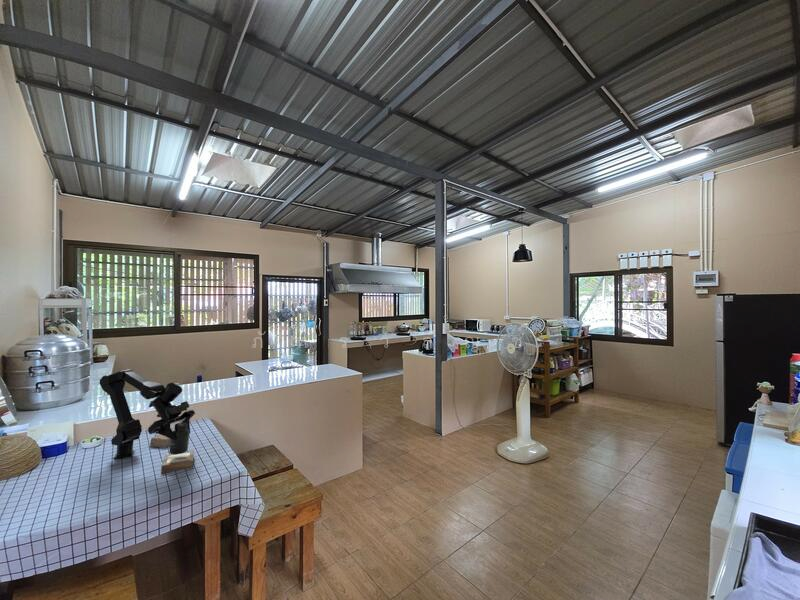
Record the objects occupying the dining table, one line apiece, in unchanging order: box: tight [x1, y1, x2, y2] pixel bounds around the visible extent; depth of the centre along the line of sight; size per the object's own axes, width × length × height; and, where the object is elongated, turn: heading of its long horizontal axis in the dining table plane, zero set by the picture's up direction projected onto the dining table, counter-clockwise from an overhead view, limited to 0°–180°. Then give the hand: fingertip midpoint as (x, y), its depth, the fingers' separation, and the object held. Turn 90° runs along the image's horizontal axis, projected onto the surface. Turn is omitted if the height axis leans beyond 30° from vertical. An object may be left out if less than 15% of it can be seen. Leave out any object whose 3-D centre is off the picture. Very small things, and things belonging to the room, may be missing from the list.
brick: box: [149, 426, 175, 448], centre depth 164 cm, size 17×8×5 cm, turn 179°
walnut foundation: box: [160, 450, 195, 474], centre depth 139 cm, size 11×11×3 cm
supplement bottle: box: [168, 422, 191, 455], centre depth 139 cm, size 7×7×12 cm
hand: (182, 436), depth 139 cm, fingers closed on supplement bottle, 7 cm apart
